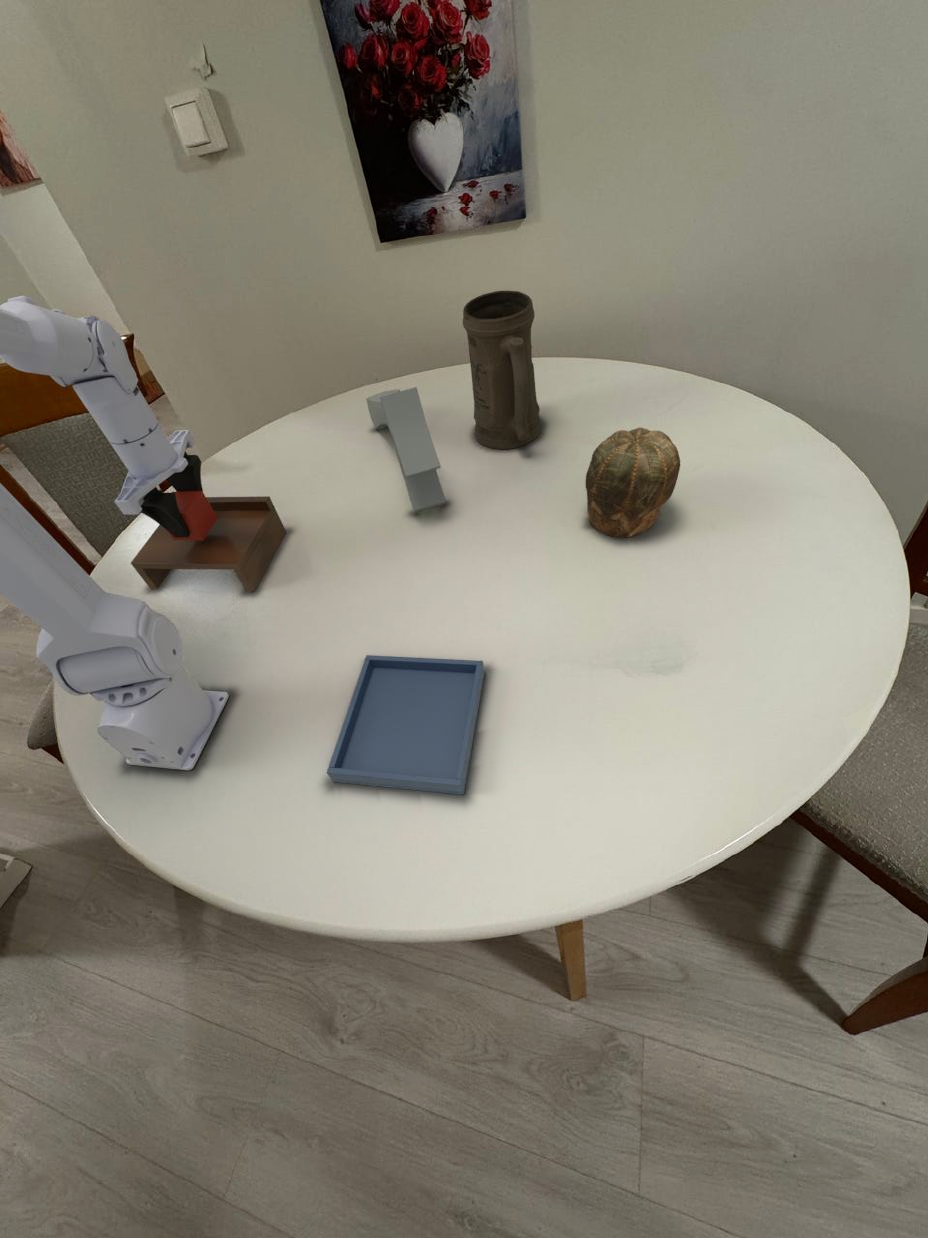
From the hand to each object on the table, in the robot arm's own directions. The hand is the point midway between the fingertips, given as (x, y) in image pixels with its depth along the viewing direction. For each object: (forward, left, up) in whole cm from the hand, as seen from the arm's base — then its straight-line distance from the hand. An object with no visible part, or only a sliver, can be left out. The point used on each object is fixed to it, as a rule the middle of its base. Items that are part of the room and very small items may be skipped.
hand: (191, 523), depth 76 cm
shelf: (+1, 0, -8) cm, 8 cm away
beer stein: (+30, -39, -8) cm, 50 cm away
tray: (-23, -34, -8) cm, 42 cm away
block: (0, 0, -1) cm, 1 cm away
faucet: (+23, -23, -8) cm, 33 cm away
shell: (+10, -56, -8) cm, 57 cm away
